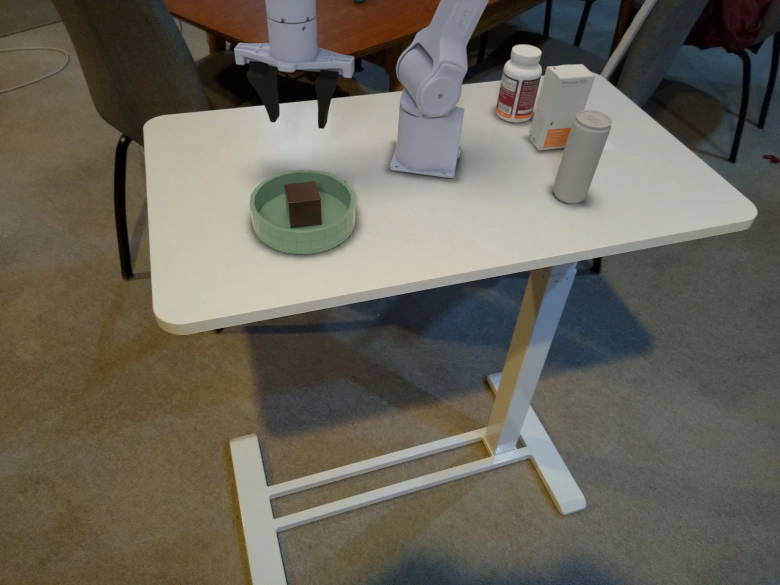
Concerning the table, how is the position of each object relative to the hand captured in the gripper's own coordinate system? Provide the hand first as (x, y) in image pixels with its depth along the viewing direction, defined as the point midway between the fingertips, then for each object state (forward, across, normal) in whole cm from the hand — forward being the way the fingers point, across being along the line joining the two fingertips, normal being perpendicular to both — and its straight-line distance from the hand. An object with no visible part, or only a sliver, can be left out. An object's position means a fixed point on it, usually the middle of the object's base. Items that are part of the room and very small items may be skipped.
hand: (298, 121), depth 76 cm
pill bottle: (+9, +30, +26) cm, 41 cm away
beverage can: (+9, +38, +4) cm, 39 cm away
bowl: (+8, +3, -10) cm, 13 cm away
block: (+8, +3, -10) cm, 13 cm away
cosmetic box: (+9, +36, +18) cm, 41 cm away
